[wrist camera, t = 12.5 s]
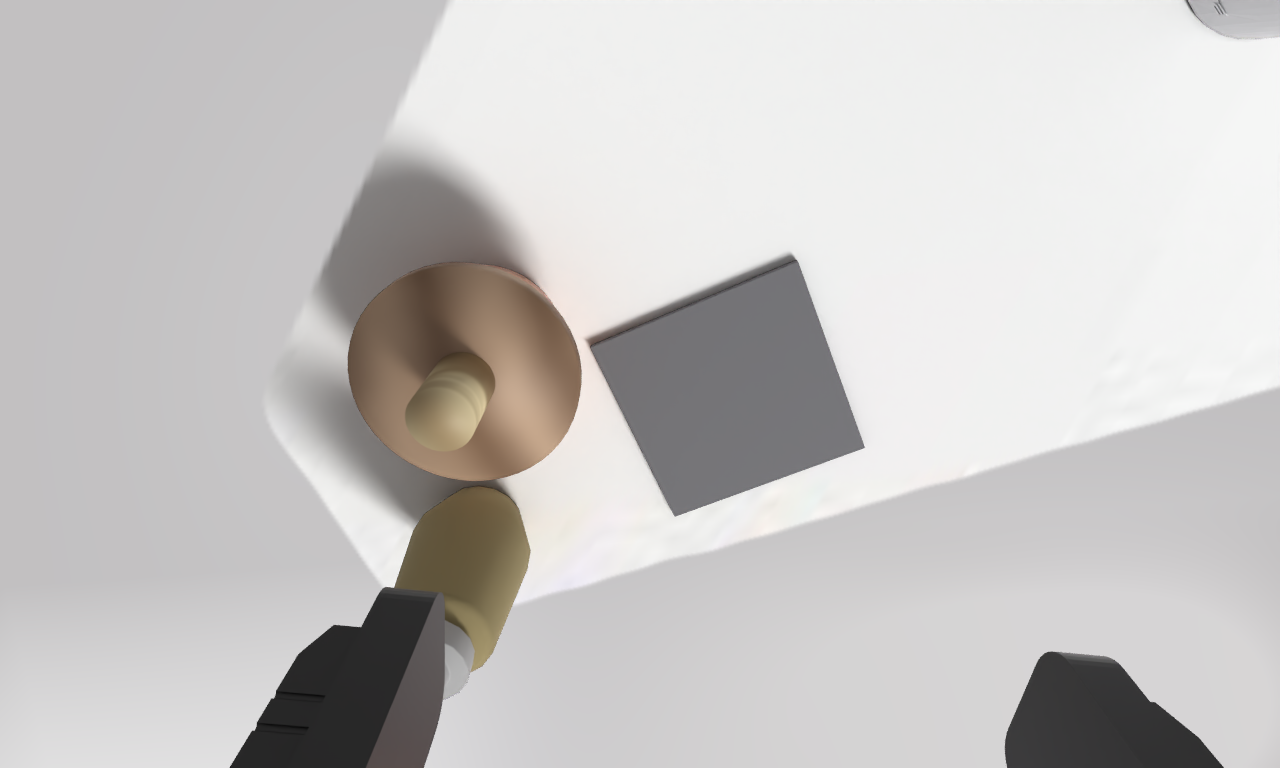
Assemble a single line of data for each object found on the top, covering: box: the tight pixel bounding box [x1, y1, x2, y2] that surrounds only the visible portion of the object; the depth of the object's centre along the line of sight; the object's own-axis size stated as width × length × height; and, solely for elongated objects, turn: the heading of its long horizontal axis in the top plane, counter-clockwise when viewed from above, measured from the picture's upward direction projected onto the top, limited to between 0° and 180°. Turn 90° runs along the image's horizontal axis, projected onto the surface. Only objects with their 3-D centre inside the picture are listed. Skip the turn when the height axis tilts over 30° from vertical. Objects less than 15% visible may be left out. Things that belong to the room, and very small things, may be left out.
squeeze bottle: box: [394, 486, 530, 700], centre depth 43 cm, size 8×8×18 cm
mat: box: [591, 260, 865, 516], centre depth 47 cm, size 14×14×1 cm
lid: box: [348, 262, 582, 481], centre depth 38 cm, size 13×13×6 cm
